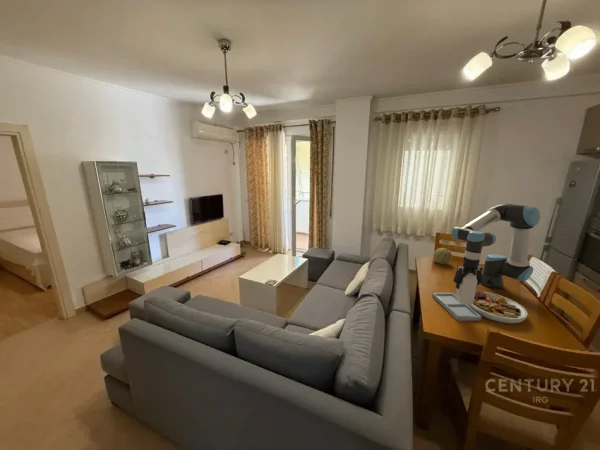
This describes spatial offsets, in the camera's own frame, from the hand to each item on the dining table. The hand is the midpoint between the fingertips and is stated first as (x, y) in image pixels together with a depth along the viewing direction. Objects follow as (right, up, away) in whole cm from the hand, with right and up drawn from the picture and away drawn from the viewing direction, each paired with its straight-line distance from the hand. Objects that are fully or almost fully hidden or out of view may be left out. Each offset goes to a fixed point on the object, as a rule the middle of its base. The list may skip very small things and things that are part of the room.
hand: (465, 293), depth 145 cm
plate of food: (+22, -13, +7) cm, 27 cm away
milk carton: (0, -5, +1) cm, 5 cm away
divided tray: (0, -12, +10) cm, 15 cm away
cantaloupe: (+32, +6, +78) cm, 85 cm away
